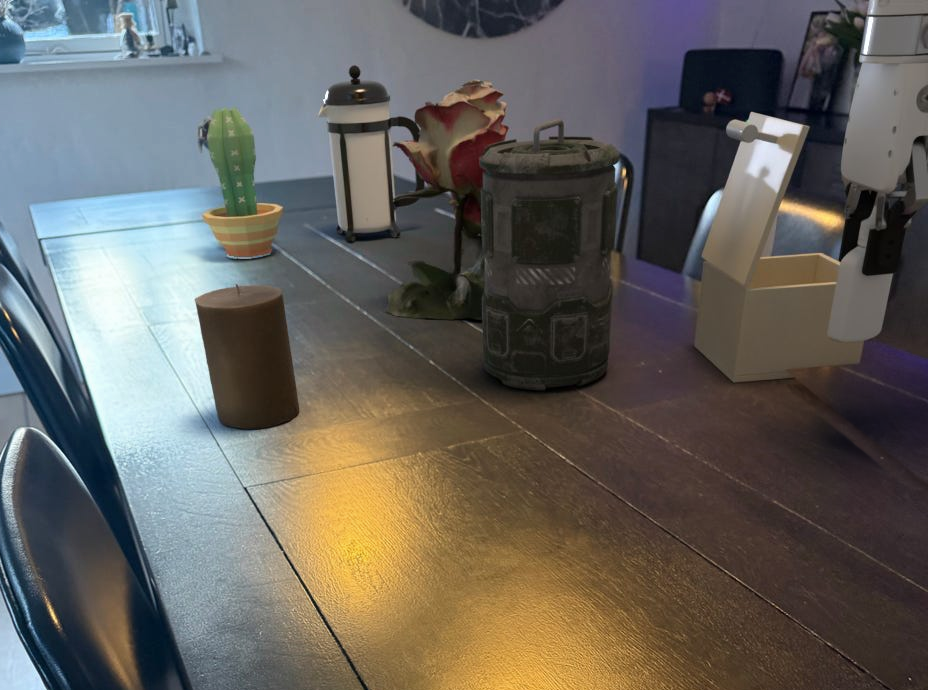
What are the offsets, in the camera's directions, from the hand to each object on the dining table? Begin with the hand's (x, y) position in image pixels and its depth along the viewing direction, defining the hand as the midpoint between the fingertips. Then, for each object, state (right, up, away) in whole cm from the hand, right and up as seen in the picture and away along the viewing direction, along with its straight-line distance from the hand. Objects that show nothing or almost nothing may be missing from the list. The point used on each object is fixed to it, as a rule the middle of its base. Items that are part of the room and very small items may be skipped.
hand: (867, 265), depth 88 cm
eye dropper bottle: (0, -6, +4) cm, 7 cm away
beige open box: (+2, 0, +30) cm, 30 cm away
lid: (-5, +15, +19) cm, 25 cm away
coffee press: (-55, +49, +104) cm, 128 cm away
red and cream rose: (-33, +19, +60) cm, 71 cm away
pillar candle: (-62, -9, +22) cm, 67 cm away
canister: (-27, -1, +30) cm, 41 cm away
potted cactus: (-79, +40, +94) cm, 129 cm away
